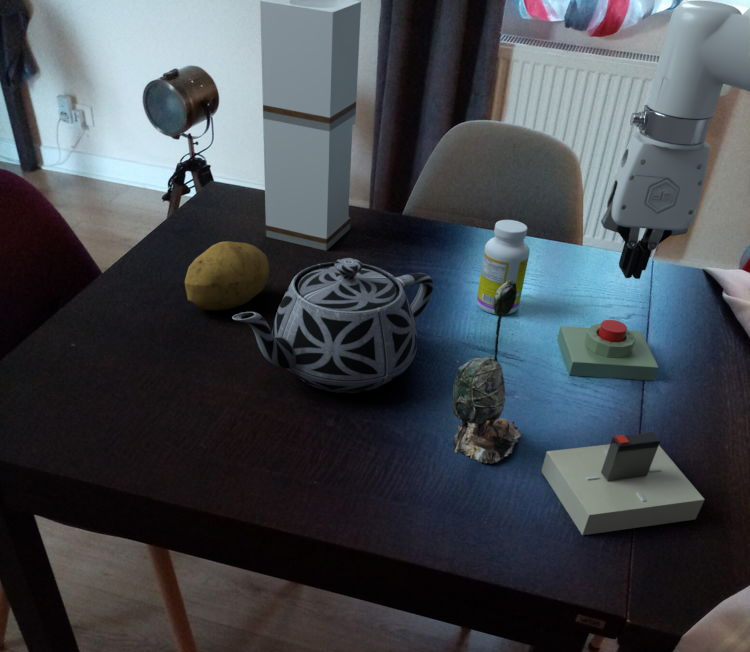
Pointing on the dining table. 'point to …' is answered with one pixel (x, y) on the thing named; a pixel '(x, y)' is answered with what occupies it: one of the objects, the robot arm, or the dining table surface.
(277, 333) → the teapot
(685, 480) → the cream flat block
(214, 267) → the potato
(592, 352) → the cutoff housing
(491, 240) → the supplement bottle
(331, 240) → the banded white pillar
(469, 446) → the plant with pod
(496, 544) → the dining table surface
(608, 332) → the cutoff button
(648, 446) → the dark grey rectangular block
